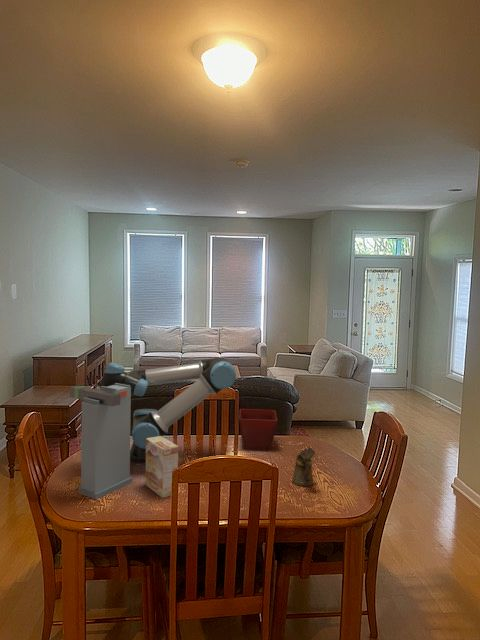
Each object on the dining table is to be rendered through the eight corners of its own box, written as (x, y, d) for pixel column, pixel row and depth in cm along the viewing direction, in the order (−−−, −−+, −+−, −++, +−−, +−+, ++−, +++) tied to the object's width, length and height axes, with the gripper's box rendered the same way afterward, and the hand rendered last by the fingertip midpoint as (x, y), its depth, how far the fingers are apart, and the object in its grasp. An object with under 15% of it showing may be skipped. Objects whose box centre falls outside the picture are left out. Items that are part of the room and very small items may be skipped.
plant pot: (276, 453, 232) (277, 420, 231) (238, 451, 232) (239, 418, 231) (274, 440, 251) (275, 409, 250) (238, 439, 251) (239, 408, 250)
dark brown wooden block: (69, 397, 186) (69, 386, 186) (78, 395, 189) (78, 385, 189) (112, 406, 173) (112, 395, 173) (120, 404, 177) (120, 393, 177)
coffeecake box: (144, 484, 190) (145, 438, 189) (160, 480, 195) (161, 435, 193) (161, 498, 179) (162, 448, 177) (178, 493, 183) (179, 445, 182)
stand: (78, 492, 181) (78, 390, 178) (115, 476, 197) (116, 382, 194) (95, 499, 176) (96, 393, 173) (132, 482, 192) (133, 385, 189)
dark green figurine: (295, 491, 188) (297, 448, 187) (290, 477, 202) (292, 437, 201) (317, 491, 189) (319, 448, 188) (310, 477, 202) (312, 437, 201)
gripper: (97, 388, 213) (79, 431, 212) (91, 401, 189) (71, 449, 188) (113, 394, 214) (95, 437, 214) (109, 407, 190) (89, 455, 190)
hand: (83, 443), depth 201 cm, fingers open, 13 cm apart
